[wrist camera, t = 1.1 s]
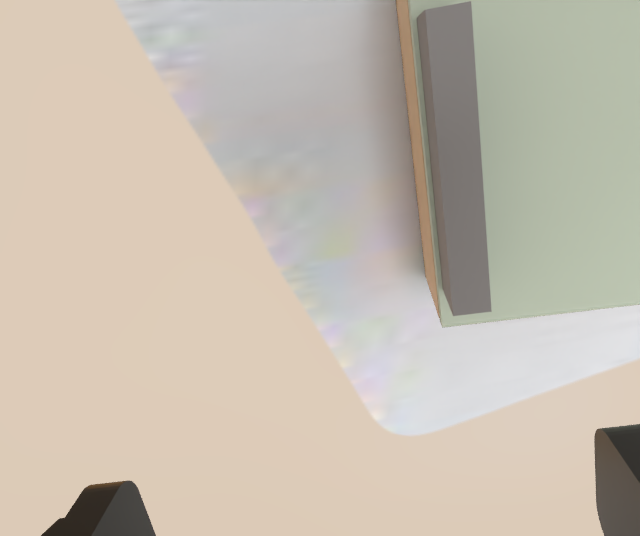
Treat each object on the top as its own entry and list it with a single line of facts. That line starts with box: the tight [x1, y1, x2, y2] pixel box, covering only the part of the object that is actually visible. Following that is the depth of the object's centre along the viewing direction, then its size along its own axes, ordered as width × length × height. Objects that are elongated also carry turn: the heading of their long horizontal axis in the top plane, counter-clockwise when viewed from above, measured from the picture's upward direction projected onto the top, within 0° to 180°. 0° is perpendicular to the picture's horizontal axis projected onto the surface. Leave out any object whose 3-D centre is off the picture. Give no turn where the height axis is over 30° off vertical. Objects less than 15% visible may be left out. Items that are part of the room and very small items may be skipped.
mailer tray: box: [396, 0, 440, 318], centre depth 27 cm, size 16×20×6 cm
